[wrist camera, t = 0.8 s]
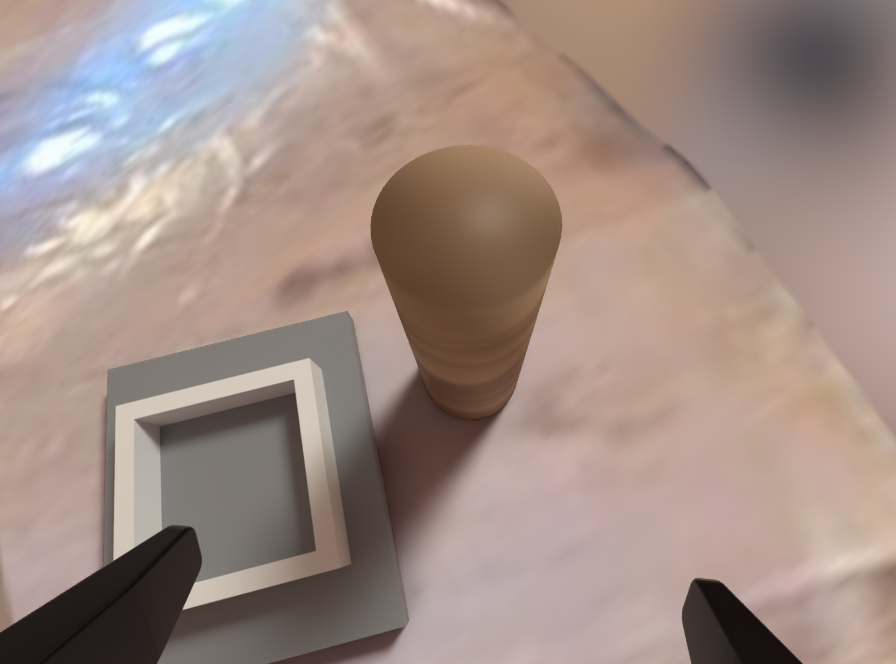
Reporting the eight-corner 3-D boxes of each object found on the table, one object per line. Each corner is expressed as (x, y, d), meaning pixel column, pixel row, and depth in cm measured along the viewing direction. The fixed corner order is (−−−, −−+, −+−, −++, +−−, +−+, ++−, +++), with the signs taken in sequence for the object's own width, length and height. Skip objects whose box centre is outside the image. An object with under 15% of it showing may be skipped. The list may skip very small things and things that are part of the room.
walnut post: (515, 423, 23) (561, 314, 11) (419, 415, 23) (356, 301, 11) (518, 332, 24) (562, 148, 12) (429, 326, 25) (384, 142, 13)
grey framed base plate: (409, 620, 20) (398, 637, 17) (121, 698, 19) (62, 729, 17) (353, 320, 25) (337, 295, 22) (124, 376, 25) (79, 358, 22)
